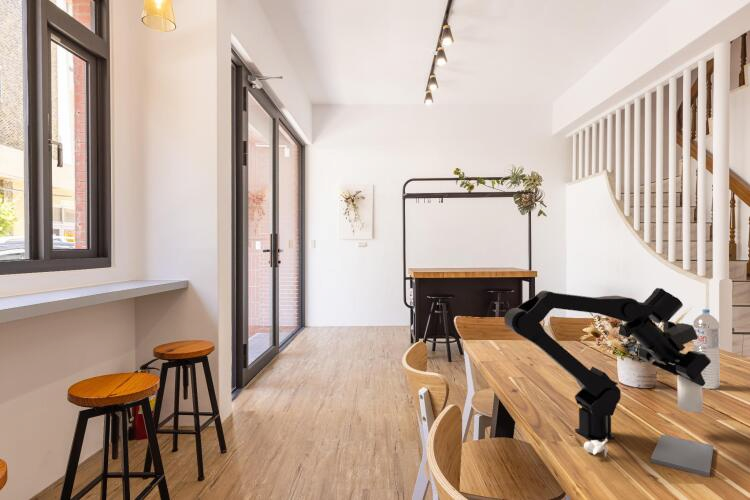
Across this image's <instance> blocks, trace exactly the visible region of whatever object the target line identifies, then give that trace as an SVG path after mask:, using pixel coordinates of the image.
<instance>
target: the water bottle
mask: <svg viewBox="0 0 750 500" xmlns="http://www.w3.org/2000/svg"><path fill="white" fill-rule="evenodd" d="M710 312H711V310H710V309H707V308H703V309H702V314H700V315H698V316H697V317H696V318H695V319H694V320H693V325H692V326H693V327H694V330H695V332H696V334H697V336H698V339H696V340H693V351H696V352H699V353H702V354H705V355H706V356H707V357H708V358H709V359H710V360H711V363H710V364H709V365H708V366H707V367H706V368H705V369H704V370H703V371H702V377H703V379H704V381H705V384H704V386H702V389H707V390H718V389H719V388H720V384H721V383H720V373H721V372H720V370H721V369H720V366H721V365H720V364H721V363H720V362H721V361H720V360H721V359H720V358H721V357H720V332H719V331H720V330H719V329H720V322H719V321H718V320H717V318H715V317H714V315H712V314H710ZM708 326H709V328H708Z"/></svg>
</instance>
